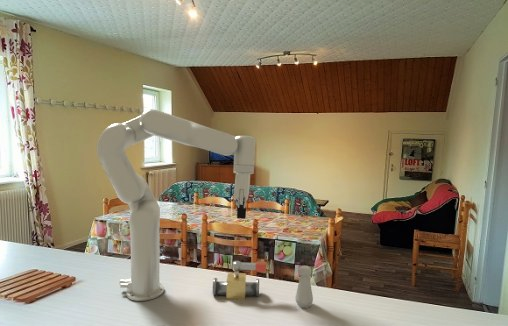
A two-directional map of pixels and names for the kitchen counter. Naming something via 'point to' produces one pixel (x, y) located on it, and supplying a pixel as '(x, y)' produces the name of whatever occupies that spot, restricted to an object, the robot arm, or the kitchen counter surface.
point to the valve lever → (249, 266)
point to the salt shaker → (304, 288)
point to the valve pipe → (236, 286)
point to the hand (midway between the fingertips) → (241, 217)
